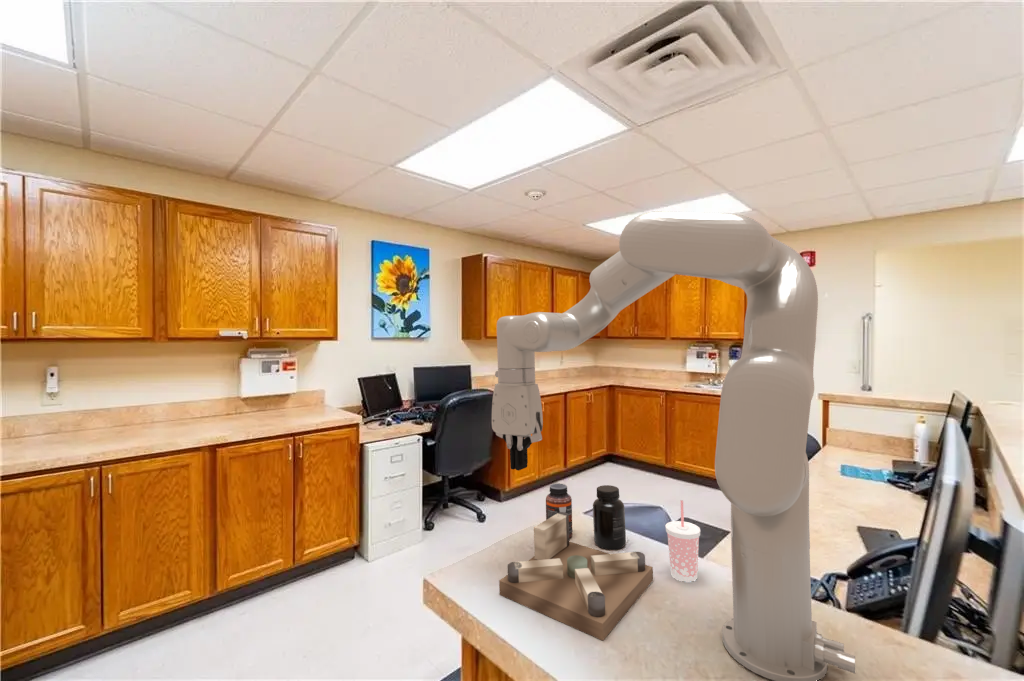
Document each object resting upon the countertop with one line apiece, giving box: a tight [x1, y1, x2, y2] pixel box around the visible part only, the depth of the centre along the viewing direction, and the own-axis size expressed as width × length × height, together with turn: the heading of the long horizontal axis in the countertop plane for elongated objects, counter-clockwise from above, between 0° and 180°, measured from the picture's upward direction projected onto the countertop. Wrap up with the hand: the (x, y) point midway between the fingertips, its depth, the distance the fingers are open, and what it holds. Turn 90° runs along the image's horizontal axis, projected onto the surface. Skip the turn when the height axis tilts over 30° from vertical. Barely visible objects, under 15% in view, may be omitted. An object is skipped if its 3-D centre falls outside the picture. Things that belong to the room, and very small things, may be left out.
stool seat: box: [498, 541, 654, 641], centre depth 78 cm, size 20×20×5 cm
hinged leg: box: [533, 512, 570, 560], centre depth 87 cm, size 10×3×6 cm, turn 141°
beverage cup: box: [664, 499, 702, 583], centre depth 81 cm, size 6×6×14 cm
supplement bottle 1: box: [545, 483, 573, 539], centre depth 99 cm, size 6×6×11 cm
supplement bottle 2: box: [592, 484, 627, 551], centre depth 95 cm, size 7×7×12 cm
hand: (519, 468), depth 87 cm, fingers closed
